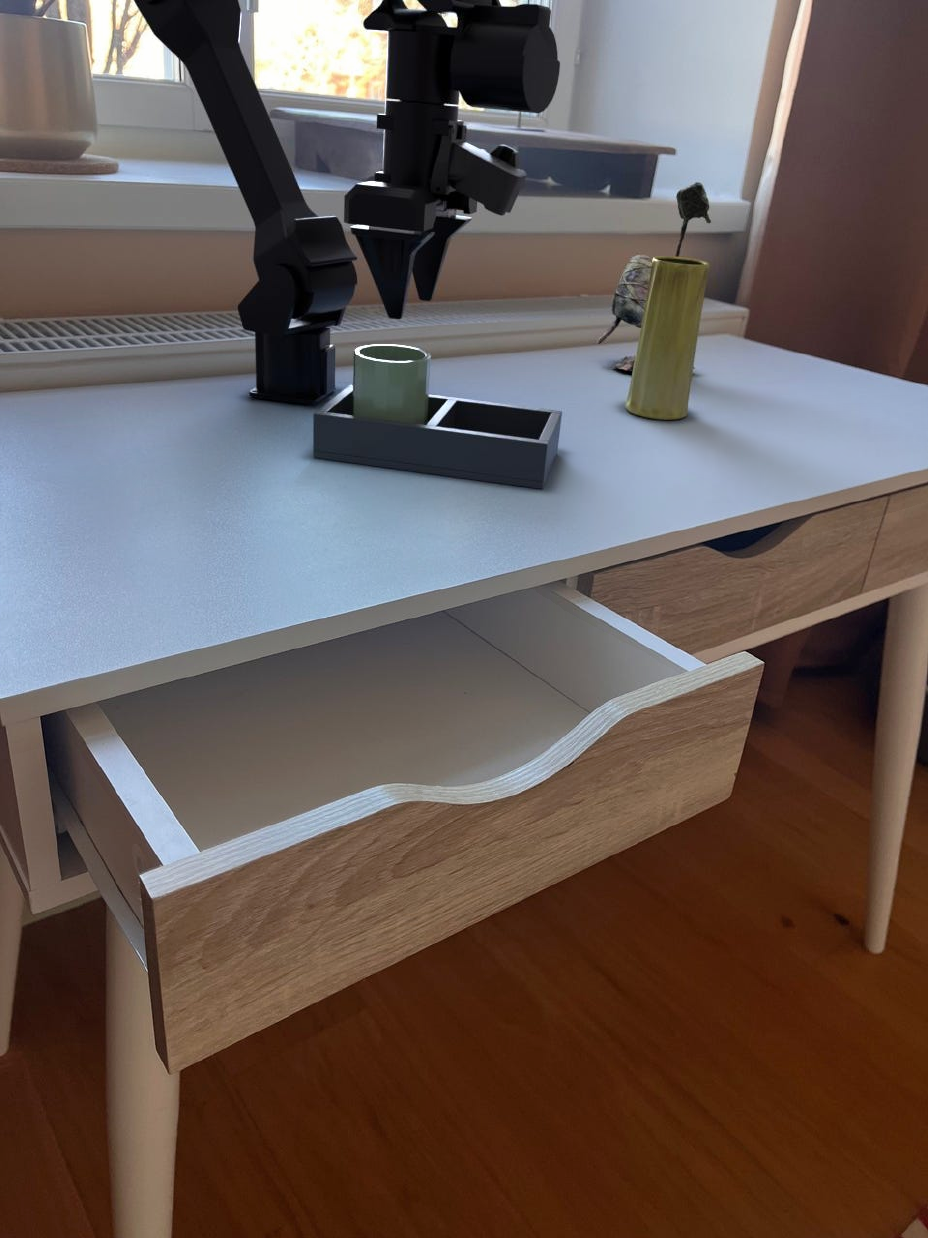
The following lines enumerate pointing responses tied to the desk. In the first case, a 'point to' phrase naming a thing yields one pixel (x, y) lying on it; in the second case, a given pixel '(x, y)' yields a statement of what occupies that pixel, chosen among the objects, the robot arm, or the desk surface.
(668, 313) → the vase
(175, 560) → the desk surface
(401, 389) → the cup
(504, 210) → the robot arm
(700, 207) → the plant with pod
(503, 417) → the holder
